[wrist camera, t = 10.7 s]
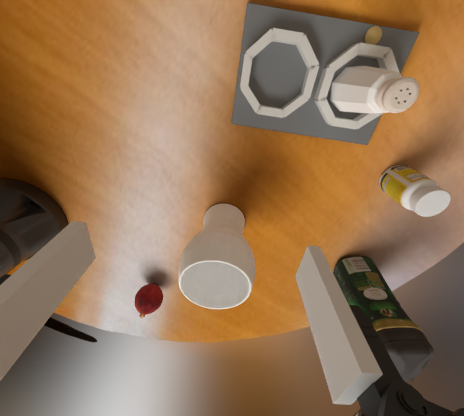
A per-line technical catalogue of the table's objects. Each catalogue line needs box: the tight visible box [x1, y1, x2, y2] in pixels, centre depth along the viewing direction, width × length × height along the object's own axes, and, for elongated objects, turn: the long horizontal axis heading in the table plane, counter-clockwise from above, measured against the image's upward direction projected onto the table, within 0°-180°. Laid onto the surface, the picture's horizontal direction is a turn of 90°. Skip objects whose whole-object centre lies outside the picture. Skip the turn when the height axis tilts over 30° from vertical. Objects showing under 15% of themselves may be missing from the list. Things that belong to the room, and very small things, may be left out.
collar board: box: [232, 3, 419, 145], centre depth 28 cm, size 20×13×2 cm, turn 82°
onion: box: [135, 284, 163, 318], centre depth 48 cm, size 6×6×8 cm
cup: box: [178, 204, 255, 309], centre depth 35 cm, size 11×11×15 cm
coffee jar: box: [333, 256, 434, 382], centre depth 38 cm, size 10×8×19 cm
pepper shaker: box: [330, 65, 419, 114], centre depth 24 cm, size 5×5×11 cm
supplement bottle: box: [379, 165, 451, 217], centre depth 31 cm, size 5×5×8 cm
